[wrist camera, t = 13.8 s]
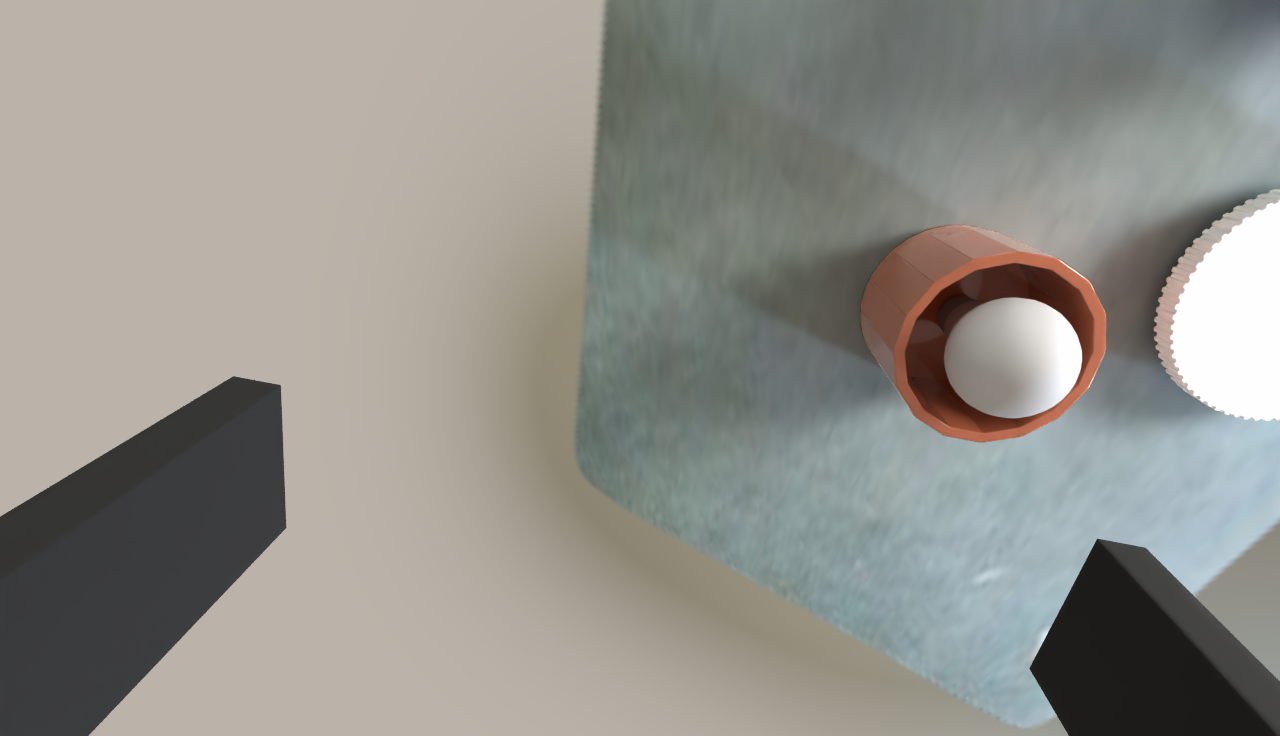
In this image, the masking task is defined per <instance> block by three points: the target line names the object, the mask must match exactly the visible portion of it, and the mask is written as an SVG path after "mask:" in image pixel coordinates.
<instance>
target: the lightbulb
mask: <svg viewBox="0 0 1280 736" xmlns="http://www.w3.org/2000/svg"><path fill="white" fill-rule="evenodd" d="M937 320H938V324H939V327H940V328H941V329H942V331H943V332H944V336H945V338H946V341H947V343H946V346H945V352H944V365H945V370H946V374H947V377H948V379H949V382H950V384H951V386H952V387H953V389H954V390H955V392H956V393H957V394H958V395H959V396H960V397H961V398H962V399H963V400H964V401H965V402H966V403H967V404H969V405H970V406H972V407H974V408H975V409H977V410H979V411H981V412H984V413H986V414H989V415H992V416H997V417H1003V418H1022V417H1027V416H1032V415H1035V414H1038V413H1041V412H1044V411H1046V410H1048V409H1049V408H1051V407H1053V406H1055V405H1056V404H1057V403H1059V402H1060V401H1061V400H1062V399H1063V398H1064V397H1065V396H1066V395H1067V394H1068V393H1069V392H1070V390H1071V389H1072V387H1073V386H1074V384H1075V382H1076V380H1077V378H1078V375H1079V373H1080V369H1081V363H1082V350H1081V346H1080V343H1079V339H1078V336H1077V334H1076V332H1075V331H1074V329H1073V327H1072V326H1071V324H1070V323H1069V322H1068V321H1067V319H1066V318H1065V317H1064V316H1063V315H1062V314H1061V313H1059V312H1058V311H1056V310H1055V309H1053V308H1051V307H1050V306H1048V305H1046V304H1044V303H1041V302H1038V301H1036V300H1031V299H1024V298H1016V297H1012V298H1001V299H996V300H992V301H989V302H987V303H986V302H984V301H976V300H975V299H972V298H970V297H967V296H957V297H953V298H951V299H949V300H948V301H946V302H945V303H944V304H943V305H942V306H941V308H940V310H939V312H938V316H937Z"/></svg>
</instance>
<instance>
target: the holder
mask: <svg viewBox="0 0 1280 736" xmlns="http://www.w3.org/2000/svg"><path fill="white" fill-rule="evenodd" d="M957 296H967V297H970V298H972V299H975V300H976V301H984V302H986V303H987V302H989V301H992V300H996V299H1001V298H1012V297H1016V298H1024V299H1031V300H1036V301H1038V302H1041V303H1044V304H1046V305H1048V306H1050V307H1051V308H1053V309H1055V310H1056V311H1058V312H1059V313H1061V314H1062V315H1063V316H1064V317H1065V318H1066V319H1067V321H1068V322H1069V323H1070V324H1071V326H1072V327H1073V329H1074V331H1075V332H1076V334H1077V336H1078V339H1079V343H1080V346H1081V350H1082V363H1081V369H1080V373H1079V375H1078V378H1077V380H1076V382H1075V384H1074V386H1073V387H1072V389H1071V390H1070V392H1069V393H1068V394H1067V395H1066V396H1065V397H1064V398H1063V399H1062V400H1061V401H1060V402H1059V403H1057V404H1056V405H1055V406H1053V407H1051V408H1049V409H1048V410H1046V411H1044V412H1041V413H1038V414H1035V415H1032V416H1027V417H1022V418H1003V417H997V416H992V415H989V414H986V413H984V412H981V411H979V410H977V409H975V408H974V407H972V406H970V405H969V404H967V403H966V402H965V401H964V400H963V399H962V398H961V397H960V396H959V395H958V394H957V393H956V392H955V390H954V389H953V387H952V386H951V384H950V382H949V379H948V377H947V374H946V370H945V365H944V352H945V346H946V343H947V341H946V338H945V336H944V332H943V331H942V329H941V328H940V327H939V324H938V320H937V316H938V312H939V310H940V308H941V306H942V305H943V304H944V303H945V302H946V301H948V300H949V299H951V298H953V297H957ZM860 318H861V328H862V333H863V336H864V339H865V342H866V345H867V347H868V348H869V350H870V352H871V353H872V355H873V356H874V358H875V359H876V361H877V363H878V364H879V366H880V367H881V369H882V370H883V372H884V373H885V375H886V376H887V378H888V379H889V380H890V382H891V383H892V385H893V386H894V388H895V389H896V391H897V392H898V393H899V395H900V396H901V398H902V399H903V401H904V402H905V404H906V405H907V406H908V408H909V409H910V411H911V412H912V414H913V415H914V416H915V417H916V418H918V419H919V420H921V421H922V422H924V423H925V424H927V425H928V426H930V427H931V428H933V429H935V430H936V431H938V432H939V433H941V434H942V435H945V436H948V437H954V438H959V439H964V440H970V441H975V442H990V441H996V440H1003V439H1009V438H1016V437H1021V436H1024V435H1026V434H1028V433H1030V432H1032V431H1034V430H1036V429H1038V428H1040V427H1042V426H1044V425H1046V424H1048V423H1050V422H1052V421H1054V420H1056V419H1058V417H1060V416H1061V415H1062V414H1063V413H1064V412H1065V411H1066V410H1067V409H1068V408H1069V407H1070V406H1071V405H1072V404H1073V403H1074V402H1075V401H1076V400H1077V399H1078V398H1079V397H1080V396H1081V395H1082V394H1083V393H1084V392H1085V391H1086V390H1087V389H1088V388H1089V386H1090V384H1091V382H1092V380H1093V378H1094V376H1095V374H1096V371H1097V369H1098V367H1099V365H1100V363H1101V361H1102V359H1103V356H1104V354H1105V350H1106V313H1105V311H1104V309H1103V307H1102V305H1101V303H1100V301H1099V299H1098V297H1097V295H1096V293H1095V291H1094V289H1093V287H1092V285H1091V283H1090V281H1089V280H1088V279H1086V278H1085V277H1083V276H1082V275H1081V274H1079V273H1078V272H1076V271H1075V270H1074V269H1072V268H1071V267H1069V266H1068V265H1067V264H1065V263H1064V262H1062V261H1061V260H1060V259H1058V258H1055V257H1053V256H1051V255H1049V254H1046V253H1044V252H1042V251H1039V250H1037V249H1035V248H1033V247H1030V246H1028V245H1026V244H1024V243H1021V242H1019V241H1017V240H1014V239H1012V238H1010V237H1008V236H1005V235H1003V234H1001V233H998V232H996V231H990V230H987V229H984V228H980V227H976V226H968V225H949V226H942V227H937V228H933V229H930V230H927V231H924V232H922V233H919V234H917V235H915V236H913V237H911V238H909V239H907V240H906V241H904V242H903V243H901V244H900V245H899V246H897V247H896V248H895V249H894V250H892V251H891V252H890V253H889V254H888V255H887V256H886V257H885V258H884V259H883V260H882V262H881V263H880V264H879V265H878V267H877V268H876V269H875V271H874V272H873V274H872V276H871V278H870V280H869V281H868V283H867V286H866V289H865V291H864V294H863V299H862V303H861V312H860Z"/></svg>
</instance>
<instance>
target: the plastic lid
mask: <svg viewBox="0 0 1280 736" xmlns="http://www.w3.org/2000/svg"><path fill="white" fill-rule="evenodd" d="M1233 210H1234V211H1233V212H1231V213H1225V214H1224V215H1223V216H1222V217H1223V218H1222V219H1221V220H1220V221H1217V220H1216V221H1214V222H1213V223H1212V227H1211V228H1210V229H1205V230H1204V231H1203V232H1202V234H1203V235H1202V236H1201V237H1200V238H1196V239H1195V240H1194V241H1193V243H1194V244H1193V245H1192V247H1188V248H1187V249H1186V250H1185V252H1186V254H1185V255H1184V256H1183V257H1180V258H1179V259H1178V262H1179V264H1178V265H1177V266H1176V267H1173V268H1172V270H1171V271H1172V272H1173V273H1172V275H1171V276H1170V277H1167V279H1166V282H1167V285H1166V287H1163V288H1162V291H1161V292H1163V295H1162V297H1159V299H1158V302H1160V305H1159V307H1157V308H1156V312H1157V313H1158V316H1157V317H1155V318H1154V322H1156V323H1157V326H1155V327H1154V331H1155V332H1157V335H1156V336H1155V337H1154V340H1155V341H1157V342H1158V344H1157V345H1156V349H1157V350H1159V351H1160V353H1159V354H1158V357H1159V358H1160V359H1162V360H1163V361H1162V362H1161V364H1162V366H1164V367H1166V368H1167V369H1166V370H1165V371H1166V373H1168V374H1169V375H1171V377H1170V378H1171V379H1172V380H1173V381H1175V382H1177V383H1176V384H1177V385H1178V386H1179V387H1181V388H1182V389H1183V391H1185V392H1186V393H1188V394H1190V395H1191V396H1193V397H1194V398H1196V399H1198V400H1199V401H1201V402H1203V403H1204V404H1206V405H1208V406H1209V407H1212V408H1213V409H1215V410H1217V411H1221V412H1223V413H1224V414H1227V415H1229V414H1231V415H1232V416H1234V417H1239V416H1240V417H1242V418H1244V419H1249V418H1252V419H1254V420H1260V419H1261V418H1262V419H1264V420H1265V421H1270V420H1271V419H1272V418H1274V419H1275V420H1280V189H1272V190H1270V191H1269V193H1268V194H1263V193H1262V194H1259V195H1257V198H1256V199H1254V200H1253V199H1249V200H1247V201H1245V204H1244V205H1243V206H1239V205H1238V206H1236V207H1234V208H1233Z"/></svg>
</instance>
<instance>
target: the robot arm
mask: <svg viewBox="0 0 1280 736" xmlns="http://www.w3.org/2000/svg"><path fill="white" fill-rule="evenodd" d="M285 529H286V511H285V486H284V459H283V432H282V407H281V386H280V385H277V384H271V383H265V382H260V381H255V380H250V379H245V378H239V377H232V378H230V379H228V380H227V381H225V382H223V383H222V384H220V385H218V386H217V387H215V388H213V389H212V390H210V391H208V392H207V393H205V394H203V395H202V396H200V397H199V398H197V399H195V400H194V401H192V402H190V403H189V404H187V405H185V406H183V407H182V408H180V409H179V410H177V411H175V412H174V413H172V414H170V415H168V416H167V417H165V418H164V419H162V420H160V421H159V422H157V423H155V424H154V425H152V426H150V427H149V428H147V429H145V430H144V431H142V432H140V433H139V434H137V435H135V436H134V437H132V438H130V439H129V440H127V441H125V442H124V443H122V444H120V445H119V446H117V447H115V448H114V449H112V450H110V451H109V452H107V453H105V454H104V455H102V456H100V457H99V458H97V459H95V460H94V461H92V462H91V463H89V464H87V465H86V466H84V467H82V468H80V469H79V470H77V471H75V472H74V473H72V474H71V475H69V476H67V477H65V478H64V479H62V480H61V481H59V482H57V483H56V484H54V485H52V486H51V487H49V488H47V489H46V490H44V491H42V492H41V493H39V494H37V495H36V496H34V497H32V498H31V499H29V500H27V501H26V502H24V503H22V504H21V505H19V506H17V507H16V508H14V509H12V510H11V511H9V512H7V513H6V514H4V515H2V516H1V517H0V736H88V735H89V734H90V733H91V732H92V731H93V730H94V729H95V728H96V727H97V726H98V725H99V724H100V723H101V722H102V721H103V720H104V719H105V718H106V717H107V716H108V715H109V713H110V712H111V711H112V710H113V709H114V708H115V707H116V706H117V705H118V704H119V703H120V702H121V701H122V700H123V699H124V698H125V696H126V695H127V694H128V693H129V692H130V691H131V690H132V689H133V688H134V687H135V686H136V685H137V684H138V683H139V682H140V681H141V680H142V679H143V678H144V677H145V676H146V675H147V674H148V672H149V671H150V670H151V669H152V668H153V667H154V666H155V665H156V664H157V663H158V662H159V661H160V660H161V659H162V658H163V657H164V656H165V655H166V653H168V651H169V650H170V649H171V648H172V647H173V646H174V645H175V644H176V643H177V642H178V641H179V640H180V639H181V638H182V636H184V635H185V634H186V632H187V631H188V630H189V629H190V628H191V627H192V626H193V625H194V624H195V623H196V622H197V621H198V620H199V619H200V618H201V617H202V616H203V614H205V613H206V612H207V610H208V609H209V608H210V607H211V606H212V605H213V604H214V603H215V602H216V601H217V600H218V599H219V598H220V597H221V596H222V595H223V594H224V593H225V592H226V590H227V589H228V588H229V587H230V586H231V585H232V584H233V583H234V582H235V581H236V580H237V579H238V578H239V577H240V576H241V575H242V574H243V573H244V571H246V569H247V568H248V567H249V566H250V565H251V564H252V563H253V562H254V561H255V560H256V559H257V558H258V557H259V556H260V555H261V554H262V553H263V552H264V550H266V548H267V547H268V546H269V545H270V544H271V543H272V542H273V541H274V540H275V539H276V538H277V537H278V536H279V535H280V534H281V533H282V532H283V531H284V530H285ZM1029 669H1030V670H1031V672H1032V674H1033V675H1034V677H1035V679H1036V680H1037V682H1038V684H1039V686H1040V687H1041V689H1042V691H1043V692H1044V694H1045V696H1046V697H1047V699H1048V701H1049V703H1050V704H1051V706H1052V708H1053V709H1054V711H1055V713H1056V714H1057V716H1058V718H1059V720H1060V721H1061V723H1062V724H1063V726H1064V728H1065V730H1066V731H1067V733H1068V735H1069V736H1280V681H1279V680H1278V679H1276V677H1275V676H1274V675H1273V674H1272V673H1271V672H1269V671H1268V669H1266V667H1265V666H1263V664H1262V663H1260V661H1259V660H1257V659H1256V658H1255V657H1254V656H1253V655H1252V654H1251V653H1250V652H1249V651H1248V650H1247V649H1246V648H1245V647H1244V646H1243V645H1242V644H1241V643H1240V642H1239V641H1238V640H1237V639H1236V638H1235V637H1234V636H1233V635H1232V634H1231V633H1230V632H1229V631H1228V630H1227V629H1226V628H1225V627H1224V626H1223V625H1222V624H1221V623H1220V622H1219V621H1218V620H1217V619H1216V618H1215V617H1214V616H1213V615H1212V614H1211V613H1210V612H1209V611H1208V610H1207V609H1206V608H1205V607H1204V606H1203V605H1202V604H1201V603H1200V602H1199V601H1198V600H1197V599H1196V598H1195V597H1194V596H1193V595H1192V594H1191V593H1190V592H1189V591H1188V590H1187V589H1186V588H1185V587H1184V586H1183V585H1182V584H1181V583H1180V582H1179V581H1178V580H1177V579H1176V578H1175V577H1174V576H1173V575H1172V574H1171V573H1170V572H1169V571H1168V570H1167V569H1166V568H1165V567H1164V566H1163V565H1162V564H1161V563H1160V562H1159V561H1158V560H1157V559H1156V558H1155V557H1154V556H1153V555H1152V554H1151V553H1150V552H1149V551H1148V550H1147V549H1146V548H1144V547H1138V546H1133V545H1128V544H1122V543H1117V542H1112V541H1106V540H1101V539H1097V540H1096V542H1095V544H1094V546H1093V548H1092V550H1091V552H1090V554H1089V556H1088V558H1087V560H1086V561H1085V563H1084V565H1083V567H1082V569H1081V571H1080V573H1079V575H1078V577H1077V579H1076V581H1075V582H1074V584H1073V586H1072V588H1071V590H1070V592H1069V594H1068V596H1067V598H1066V600H1065V602H1064V604H1063V605H1062V607H1061V609H1060V611H1059V613H1058V615H1057V617H1056V619H1055V621H1054V623H1053V625H1052V626H1051V628H1050V630H1049V632H1048V634H1047V636H1046V638H1045V640H1044V642H1043V644H1042V646H1041V647H1040V649H1039V651H1038V653H1037V655H1036V657H1035V659H1034V661H1033V663H1032V665H1031V667H1030V668H1029Z"/></svg>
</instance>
